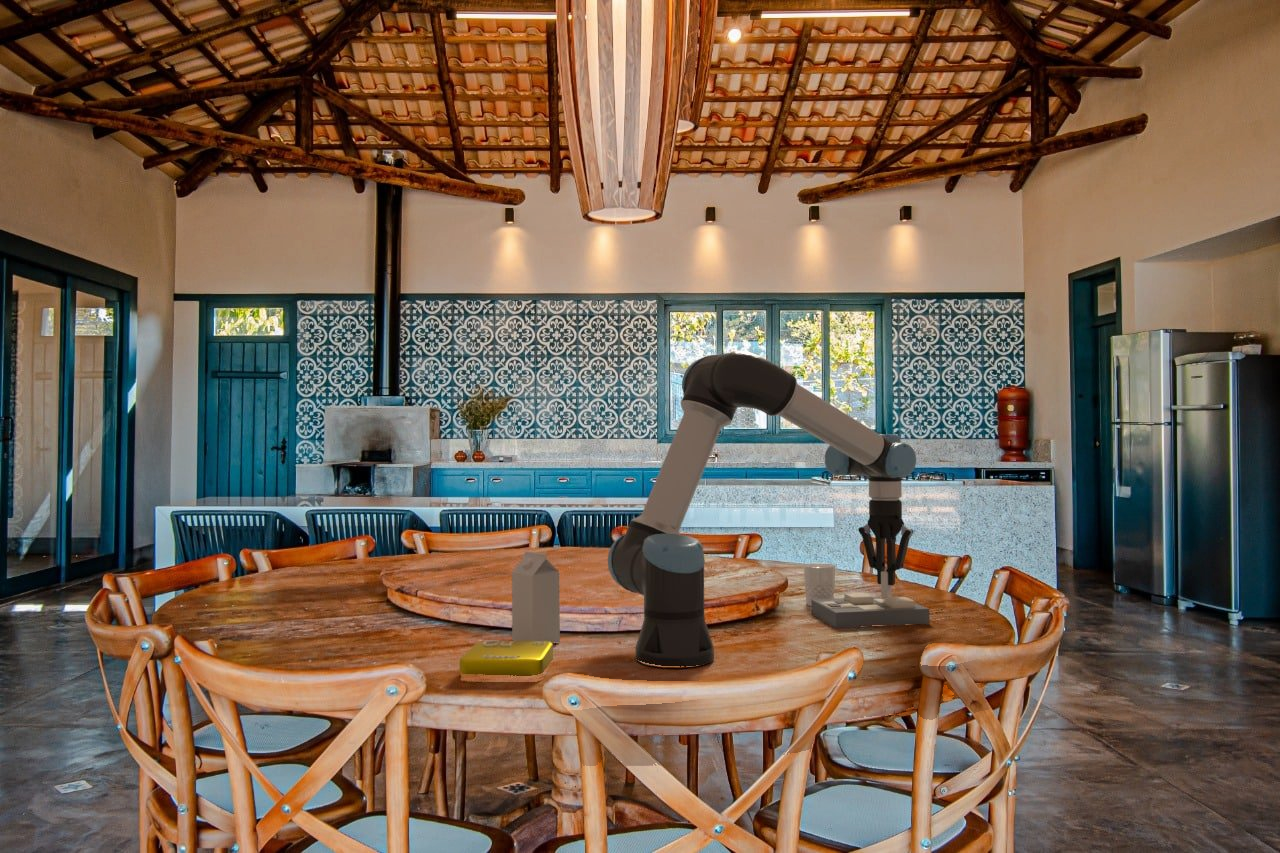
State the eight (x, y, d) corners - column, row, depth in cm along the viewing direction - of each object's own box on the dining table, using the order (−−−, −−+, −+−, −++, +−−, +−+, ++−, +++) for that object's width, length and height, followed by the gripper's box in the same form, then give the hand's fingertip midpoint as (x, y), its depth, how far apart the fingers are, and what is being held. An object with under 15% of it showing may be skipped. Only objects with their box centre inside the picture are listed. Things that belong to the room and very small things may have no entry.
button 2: (864, 620, 199) (864, 609, 199) (855, 615, 204) (855, 605, 204) (885, 619, 200) (885, 608, 200) (876, 615, 205) (876, 604, 205)
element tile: (456, 684, 156) (456, 657, 156) (477, 663, 171) (477, 638, 171) (541, 685, 155) (540, 657, 155) (554, 663, 170) (554, 638, 170)
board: (835, 628, 196) (835, 610, 196) (811, 614, 212) (811, 597, 212) (929, 624, 200) (929, 606, 200) (898, 610, 215) (898, 594, 215)
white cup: (838, 607, 220) (838, 567, 220) (806, 608, 220) (806, 567, 220) (832, 601, 228) (831, 562, 228) (801, 602, 228) (801, 563, 228)
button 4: (893, 612, 200) (893, 601, 200) (884, 608, 205) (884, 597, 205) (914, 611, 201) (914, 600, 201) (905, 607, 206) (904, 596, 206)
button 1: (852, 607, 206) (852, 597, 206) (844, 603, 211) (844, 593, 211) (872, 606, 207) (872, 596, 207) (864, 602, 212) (864, 592, 212)
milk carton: (539, 638, 190) (538, 549, 190) (560, 643, 185) (559, 552, 185) (512, 644, 185) (511, 552, 185) (533, 649, 180) (532, 555, 180)
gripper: (917, 499, 210) (919, 599, 209) (865, 497, 217) (866, 593, 217) (906, 500, 204) (907, 604, 203) (852, 499, 211) (854, 598, 211)
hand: (886, 598), depth 210 cm, fingers closed
